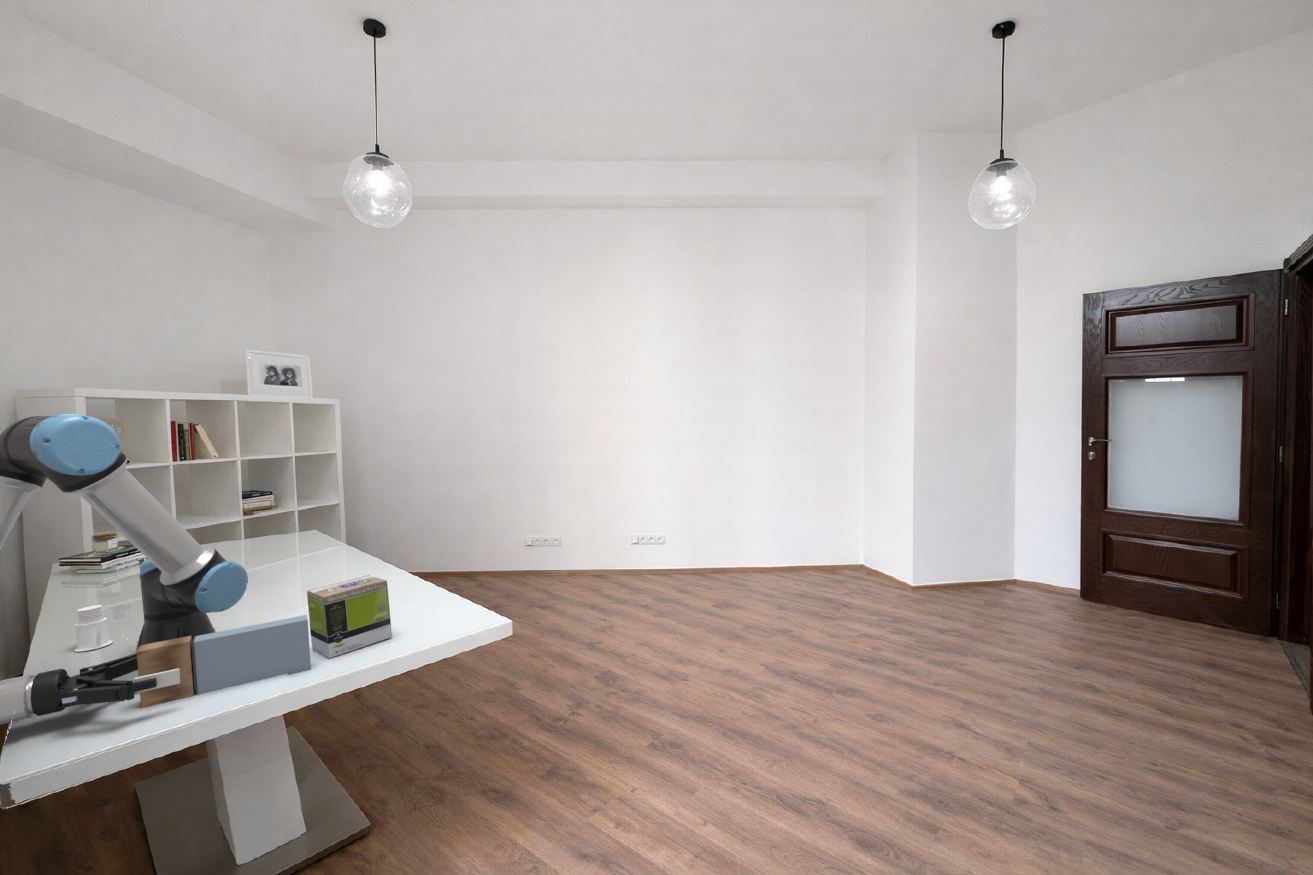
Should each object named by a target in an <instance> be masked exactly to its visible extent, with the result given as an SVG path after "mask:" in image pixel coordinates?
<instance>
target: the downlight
mask: <svg viewBox="0 0 1313 875" xmlns="http://www.w3.org/2000/svg"><path fill="white" fill-rule="evenodd" d="M103 609H104V608H103V605H102V604H97V605H89V606H85V607H82V608H78V609H77V613H76V614H77V619H78V620H77V621H78V622H77V623H75V624H74V629H75V636H76V637H75V638H76V646H77V647H76V648H75V649H74V650H73V651H74V652H76V653H77V652H81V653H82V652H86V651H92V650H99V649H102V648H104V647H107V646H109V645H112V643H113V642H114V641H113V640H110V634H109V625H108V617H104V610H103Z"/></svg>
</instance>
